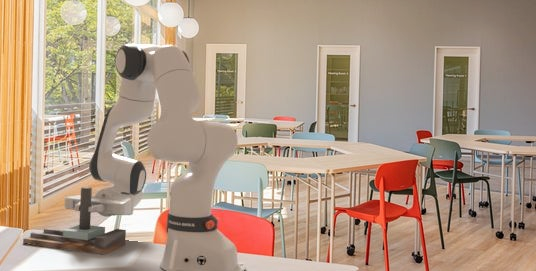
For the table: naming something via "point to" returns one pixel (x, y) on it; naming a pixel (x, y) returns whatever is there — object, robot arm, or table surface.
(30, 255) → the table surface
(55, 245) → the rail board
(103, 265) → the table surface
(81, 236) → the carriage
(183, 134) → the robot arm
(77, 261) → the table surface
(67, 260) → the table surface
